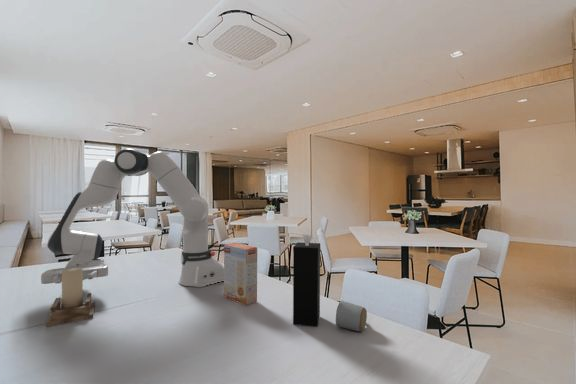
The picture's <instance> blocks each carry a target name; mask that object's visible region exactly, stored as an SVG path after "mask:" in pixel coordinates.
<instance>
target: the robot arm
mask: <svg viewBox="0 0 576 384" xmlns="http://www.w3.org/2000/svg"><path fill="white" fill-rule="evenodd" d="M147 173H149V174H150V175H151V176H152V177H153V178H154V179H155V181H156V182H157V183H158V184H159V186H160V187H161V188H162V189H163V191H164V192H165V193H166V194H167V195H168V197H169V198H170V200H171V201H172V203H173V205H175V207H176V208H177V210H178V212H179V213H180V214H181V216H183V217H182V218H183V226H182V227H183V228H182V230H183V231H182V251H181V257H180V261H181V273H180V278H179V281H178V283H179V285H181V286H185V287H195V288H202V287H203V288H204V287H206V285H208V286H210V285H209V284H212V285H215V284H214V283H216V284H218V283H217V282H220V283H222V282H221V281H224V264H222V263H221V262H219V261H218V260H217V259H216V258H214V257H215V255H216V252H215V251H214V250H213V251H212V250H210V249H209V204H208V202H207V200H206V199H205V198H203V197H202V196H201V194H200V193H199V191H197V190H196V188H195V187H194V185H193V183H191V181H190V180H189V178H188V177H187V176H186V175H185V174H184V172H183V170H181V168H180V167H179V166H178V164H177V163H176V162H175V161H174V160H173V159H172V158H171V157H170V156H169V155H168V154H167V153H165V152H164V151H156V152H153V153H151V154H148V155H147V154H146V153H144V152H141V151H140V150H137V149H134V148H123V149H121V150H119V151H118V152H117V153H116V154H115V157H114V159H102V160H101V161H99V162H98V163H97V165H96V167H95V169H94V170H93V173H92V175H91V178H90V181H89V184H88V185H87V187H86V188H85V189H84V190H83V191H80V192H77V193H76V194H75V195H74V197H72V200H71V201H70V204H68V206H67V209H65V212H64V214H63V216H62V217H61V219H60V221H59V222H58V225H57V226H56V228H55V229H54V230H53V231H52V233H51V234H50V236H49V238H48V239H47V243H46V244H47V248H48V249H49V251H50V252H51V253H53V254H59V255H60V254H62V255H63V254H66V255H73V256H72V257H71V258H70V259H69V261H68V262H67V263H66V265H65V267H61V268H60V267H59V268H52V269H47V270H45V271H43V273H42V274H41V276H40V283H41V284H43V285H47V284H62V271H63V270H66V269H71V268H82V269H83V281H85V280H92V279H93V280H94V279H95V278H103V277H107V276H109V264H108V263H107V262H105V259H103V258H100V255H101V252H102V248H103V243H104V240H103V238H102V236H101V235H100V234H99V233H94V232H93V233H92V232H88V231H87V232H85V231H79V230H73V229H71V228H70V227H71V225H72V224H73V222H74V221H75V218H76V216H77V214H79V212H80V211H81V210H83V209H87V208H95V207H102V206H106V205H109V204H111V203H112V202H113V201H115V200H116V199H117V197H118V194H119V191H120V188H121V184H122V182H123V180H124V178H125V177H127V176H128V177H133V176H135V177H140V176H143V175H146V174H147Z"/></svg>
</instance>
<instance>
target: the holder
mask: <svg viewBox="0 0 576 384" xmlns="http://www.w3.org/2000/svg"><path fill="white" fill-rule="evenodd" d="M95 308H96V302H95V301H94V302H93V301H92V292H88V293H86V298H85V301H84V303H83V306H81V307H75V308H69V309H63V310H62V298H61V297H56V298H55V300H54V301H53V303H52V304H51V308H50V314H49V316H48V318H47V320H46V322H45V327H47V328H48V327H51V326H57V325H63V324H67V323H68V324H69V323H74V322H78V321H85V320H90V319H94V315H95Z"/></svg>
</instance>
